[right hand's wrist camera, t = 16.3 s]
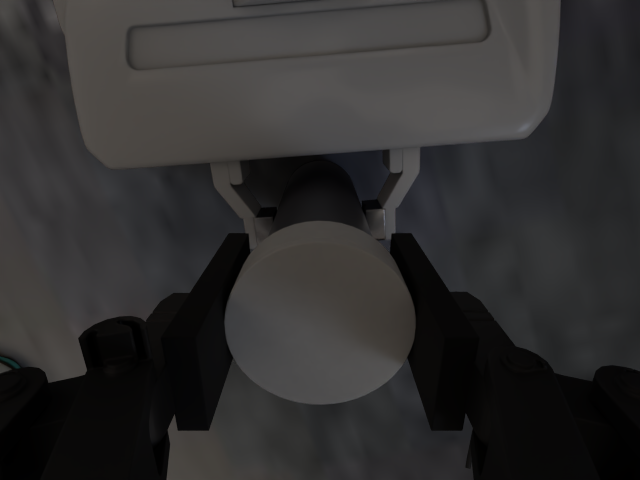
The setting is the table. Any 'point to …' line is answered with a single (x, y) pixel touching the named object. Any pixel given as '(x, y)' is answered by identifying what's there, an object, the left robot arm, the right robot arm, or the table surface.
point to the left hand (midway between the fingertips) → (322, 240)
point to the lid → (320, 314)
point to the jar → (320, 198)
